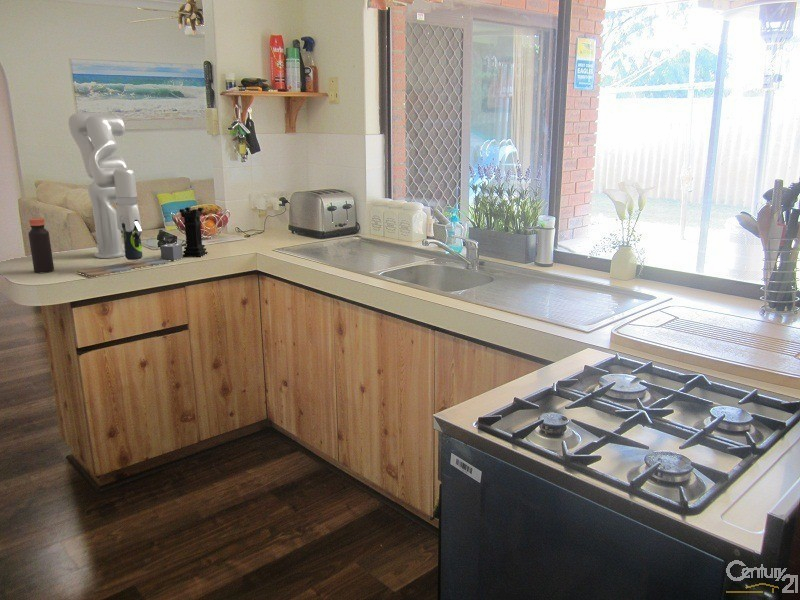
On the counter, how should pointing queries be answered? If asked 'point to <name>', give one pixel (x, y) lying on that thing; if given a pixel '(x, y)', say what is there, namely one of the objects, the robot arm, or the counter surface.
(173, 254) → the die
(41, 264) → the bottle
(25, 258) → the counter surface
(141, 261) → the board
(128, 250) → the beverage can
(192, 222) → the chess piece
